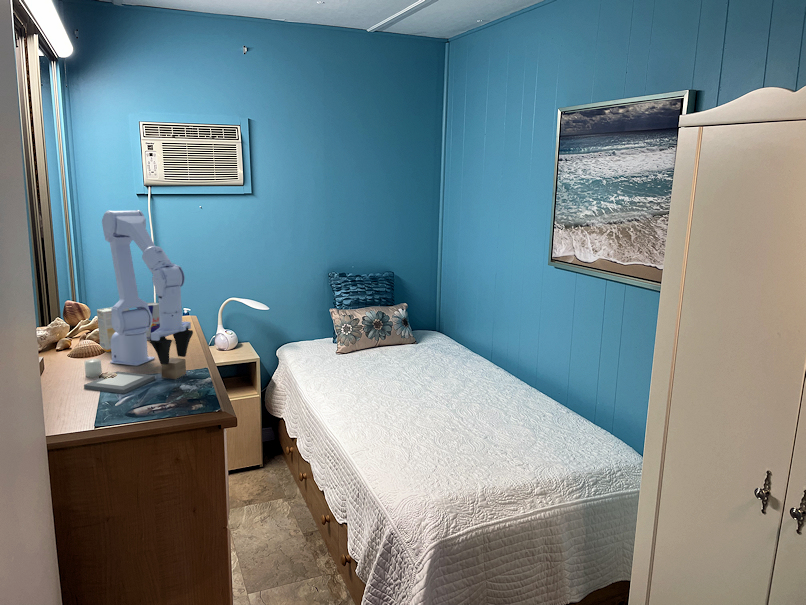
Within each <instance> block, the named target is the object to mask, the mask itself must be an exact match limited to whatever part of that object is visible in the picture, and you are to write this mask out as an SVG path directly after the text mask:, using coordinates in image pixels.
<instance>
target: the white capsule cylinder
mask: <svg viewBox="0 0 806 605" xmlns="http://www.w3.org/2000/svg"><path fill="white" fill-rule="evenodd" d="M84 373H85V377H86V378H95V377H100V376H101V375H100V374H101V373H102V374H103V370H102V360H101V359H100V358H90V359H87V360H84ZM99 375H100V376H99Z"/></svg>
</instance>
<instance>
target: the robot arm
mask: <svg viewBox="0 0 806 605" xmlns="http://www.w3.org/2000/svg"><path fill="white" fill-rule="evenodd" d="M101 226H102V230H103V236H104V240H105V241H106V242H108V243H109V246H110V252H111V257H112V262H113V269H114V274H115V280H116V285H117V286H116V287H117V291H118V297H119V300H118V301H117V302H115V304H114V305H113V306H111V307H112V308H111V307H110V308H111V312H112V318H111V323H112V327H113V329H114V330H115V331H116V332H115V333H114V334H113V335H112V338H111V351H110V352H111V360H110V361H109V363H110V364H116V365H117V364H118V365H126V366H127V365H128V366H135V367H137V366H141V365H143V364H146V363H147V362H150V361H152V360H155V356H148V355H149V354H148V352H149V350H148V340H147V335H146V331H149V329H148V328H150V326H151V324H152V314H151V312H150V310H149V307H148V303H149V302H146V301H145V300H143V299H141V298H140V296H139V291H138V285H137V280H136V275H135V267H134V264H133V263H134V262H133V258H132V251H131V246H130V245H131V243H132V241H133V242H134V243H135V244H136V246H137V247H138V248H139V249H140V251H142V254H141V258H142V260H143V262H144V264H145V265H146V266H147V268H148V269H149V271H150V272H151V274H152V277H151V280H152V283H153V286H154V289H155V294H156V296H157V301H158V302H157V303H159V319H160V328H158V329H157V330H156V331H154V332H152V333H151V338H150V341H149V343H150V345H151V346H152V347H153V349H154V350H155V353H156V355H157V357H158V360H159V363H160V365H161V364H166V365H167V364H169V358H170V350H171V345H172V342H173V340H174V341H175V346H176V347H175V348H176V354H177V356H178V357H181V358H186V356H187V352H188V348H189V344H190V343H189V342H190V341H191V338H192V336H193V334H194V331H193V330H191V329H192V327H191V326H192V325H191V324H192V322H191V321H183V310H182V293H181V292H182V290H181V287H183V286H184V284H185V278H186V277H185V272H184V270H183V269H182V267H181V266H180V265H179V264H176V263H172V261H171V260H170V258H169V256H168V255H167V254H166V252H165V251H164V249H163V248H162V247H161V246H156V245H155V243H154V242H153V240H152V238H151V235H150V234H149V232H148V230H147V229H146V228H147V221H146V217H145V215H144V213H143V211H141V210H139V209H135V210H106V211H105V212H104V213H103V216H102V219H101ZM125 309H129V310H127V311H123V310H125ZM169 336H173V339H167V338H166V337H169Z"/></svg>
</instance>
